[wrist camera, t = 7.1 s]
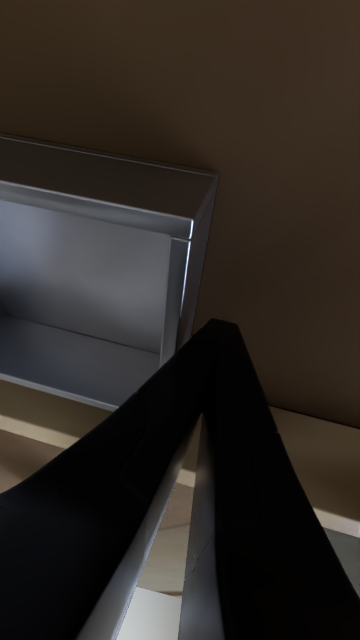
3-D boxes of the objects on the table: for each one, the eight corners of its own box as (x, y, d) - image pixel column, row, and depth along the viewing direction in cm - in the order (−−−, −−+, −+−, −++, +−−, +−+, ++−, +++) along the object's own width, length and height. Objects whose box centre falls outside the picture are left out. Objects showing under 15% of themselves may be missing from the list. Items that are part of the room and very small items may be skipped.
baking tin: (219, 171, 7) (193, 218, 5) (186, 359, 12) (166, 427, 10) (-68, 120, 8) (-195, 141, 6) (6, 313, 13) (-51, 365, 11)
